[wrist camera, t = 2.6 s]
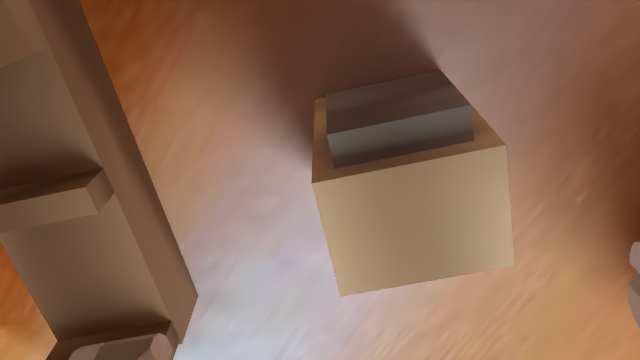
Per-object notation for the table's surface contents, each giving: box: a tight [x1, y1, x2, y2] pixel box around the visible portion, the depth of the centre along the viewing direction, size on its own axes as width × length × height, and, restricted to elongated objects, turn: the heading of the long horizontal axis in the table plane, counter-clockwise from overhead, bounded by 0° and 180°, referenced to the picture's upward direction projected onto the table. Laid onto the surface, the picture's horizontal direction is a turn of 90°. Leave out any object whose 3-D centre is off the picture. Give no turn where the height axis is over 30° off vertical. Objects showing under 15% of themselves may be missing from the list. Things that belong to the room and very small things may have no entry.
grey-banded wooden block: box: [312, 70, 515, 296], centre depth 14 cm, size 4×4×6 cm
